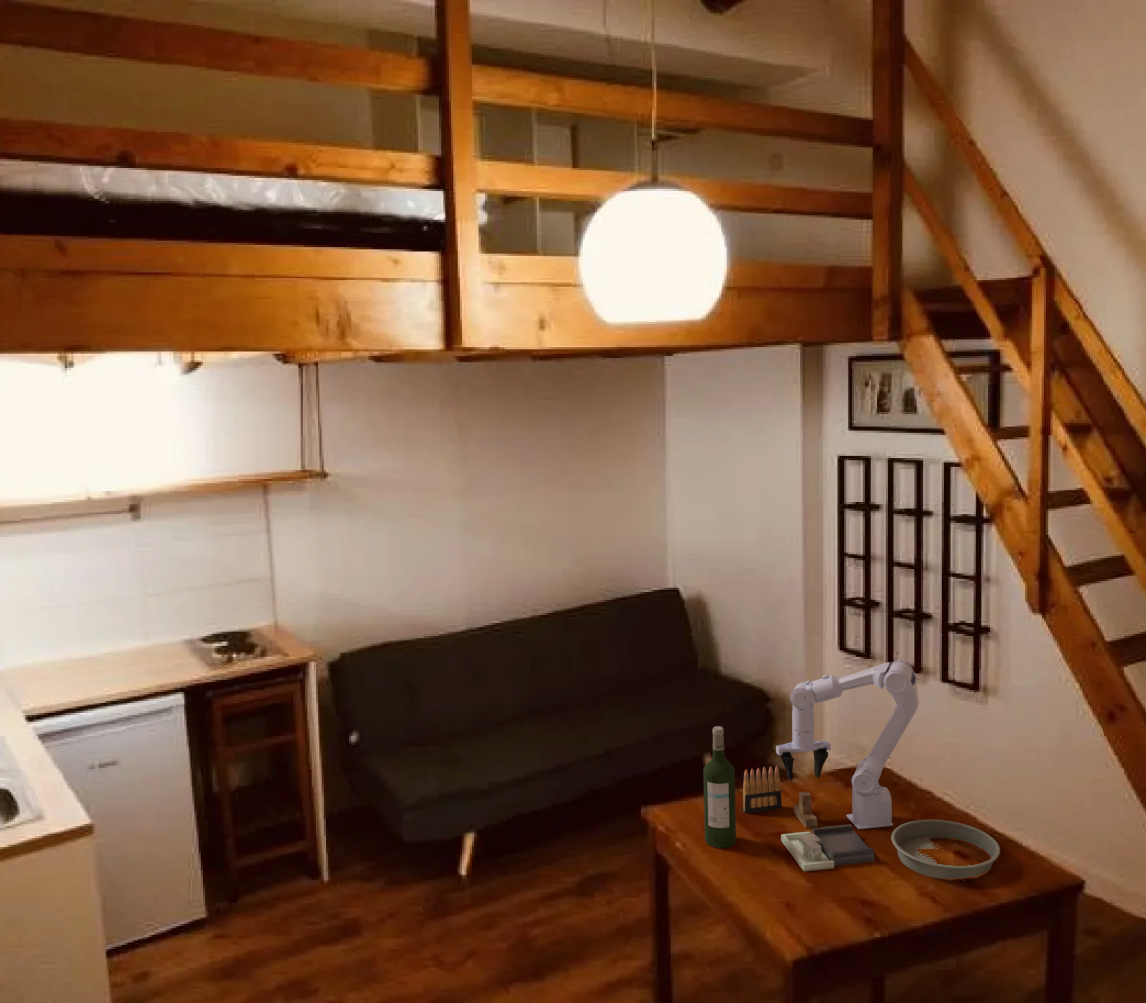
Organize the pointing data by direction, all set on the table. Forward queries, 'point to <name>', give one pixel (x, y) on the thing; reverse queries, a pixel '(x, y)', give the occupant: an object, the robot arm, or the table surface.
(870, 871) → the table surface
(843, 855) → the slot plate
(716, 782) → the wine bottle
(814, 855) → the chip
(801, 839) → the chip
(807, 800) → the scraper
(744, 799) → the ammunition clip
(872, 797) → the robot arm
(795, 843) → the tray
